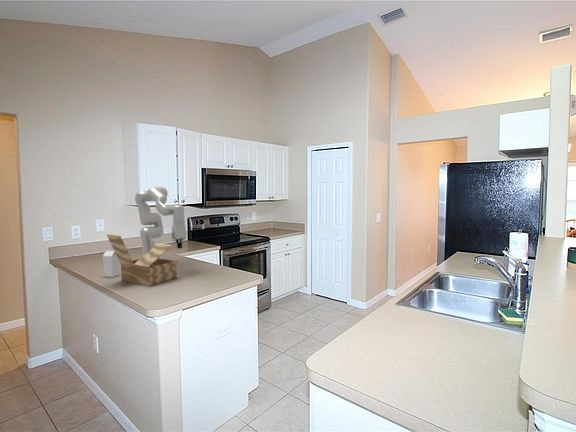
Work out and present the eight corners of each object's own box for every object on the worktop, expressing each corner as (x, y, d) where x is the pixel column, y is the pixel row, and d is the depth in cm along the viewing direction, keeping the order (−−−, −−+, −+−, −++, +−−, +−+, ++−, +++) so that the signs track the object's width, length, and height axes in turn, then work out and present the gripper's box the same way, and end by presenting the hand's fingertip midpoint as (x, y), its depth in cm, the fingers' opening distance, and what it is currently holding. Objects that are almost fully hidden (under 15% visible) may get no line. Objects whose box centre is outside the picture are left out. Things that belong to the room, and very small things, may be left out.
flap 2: (158, 243, 222) (158, 243, 221) (172, 245, 215) (171, 244, 215) (134, 264, 206) (134, 264, 206) (148, 267, 199) (148, 266, 199)
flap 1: (107, 234, 203) (106, 234, 203) (120, 235, 197) (119, 235, 196) (121, 262, 212) (120, 262, 212) (134, 264, 206) (133, 265, 206)
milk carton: (112, 277, 221) (111, 250, 219) (103, 276, 222) (102, 250, 221) (119, 274, 228) (118, 248, 226) (111, 274, 229) (110, 248, 228)
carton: (149, 272, 233) (149, 256, 232) (176, 277, 220) (176, 260, 218) (121, 280, 214) (120, 262, 213) (149, 286, 200) (148, 267, 199)
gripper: (183, 221, 234) (183, 246, 236) (166, 223, 221) (167, 249, 223) (190, 222, 230) (191, 246, 232) (174, 224, 217) (175, 250, 219)
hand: (179, 248), depth 227 cm, fingers closed
